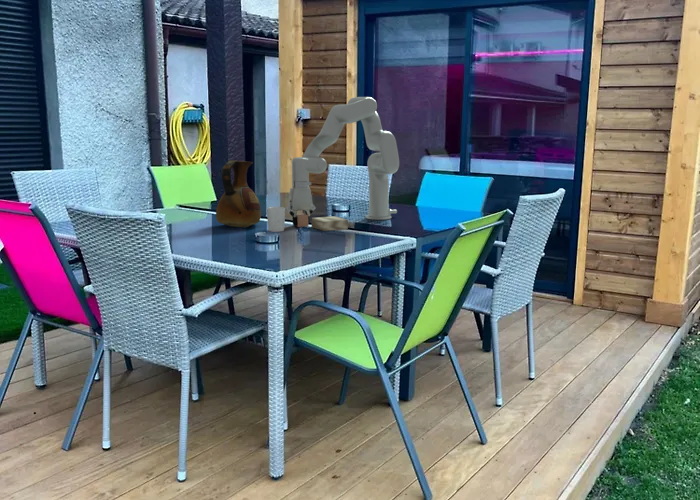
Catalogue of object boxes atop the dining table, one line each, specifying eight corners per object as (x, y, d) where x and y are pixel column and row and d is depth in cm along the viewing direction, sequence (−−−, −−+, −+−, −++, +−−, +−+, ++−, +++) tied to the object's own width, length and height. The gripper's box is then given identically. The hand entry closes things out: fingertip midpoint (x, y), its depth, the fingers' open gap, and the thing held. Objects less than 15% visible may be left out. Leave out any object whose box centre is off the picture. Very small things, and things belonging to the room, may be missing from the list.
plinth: (335, 224, 310) (335, 216, 309) (347, 228, 299) (347, 219, 298) (311, 226, 304) (311, 218, 303) (323, 230, 294) (323, 221, 293)
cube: (303, 224, 310) (303, 213, 309) (308, 226, 306) (308, 215, 305) (293, 225, 308) (293, 214, 307) (298, 227, 303) (298, 216, 302)
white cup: (282, 232, 289) (282, 209, 287) (264, 231, 291) (264, 208, 289) (287, 229, 297) (287, 207, 295) (270, 228, 298) (270, 206, 296)
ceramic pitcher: (269, 225, 308) (268, 159, 302) (244, 232, 290) (242, 162, 284) (233, 222, 316) (231, 157, 310) (207, 228, 298) (204, 160, 292)
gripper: (314, 183, 310) (314, 222, 314) (279, 185, 302) (280, 225, 306) (321, 185, 304) (321, 224, 307) (286, 186, 296) (287, 227, 299)
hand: (301, 224), depth 307 cm, fingers closed on cube, 4 cm apart
